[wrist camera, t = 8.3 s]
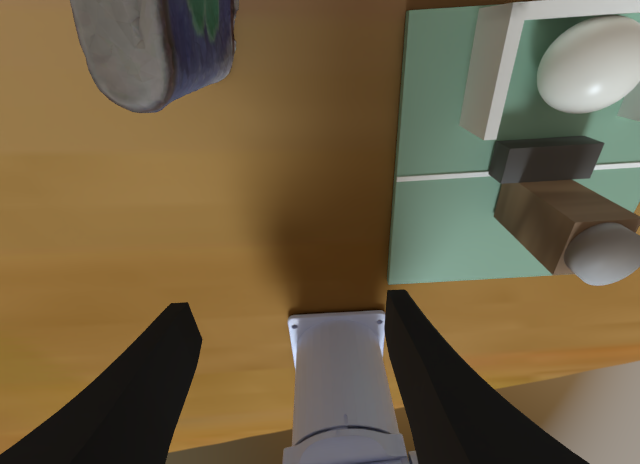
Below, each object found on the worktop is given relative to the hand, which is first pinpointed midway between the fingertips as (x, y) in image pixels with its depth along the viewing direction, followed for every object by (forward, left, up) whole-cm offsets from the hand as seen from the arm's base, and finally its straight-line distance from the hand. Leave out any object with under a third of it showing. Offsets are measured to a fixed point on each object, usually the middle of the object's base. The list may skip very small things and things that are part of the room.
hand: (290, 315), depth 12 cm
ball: (+7, -14, -8) cm, 17 cm away
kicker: (0, -14, -10) cm, 17 cm away
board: (+1, -14, -10) cm, 18 cm away
